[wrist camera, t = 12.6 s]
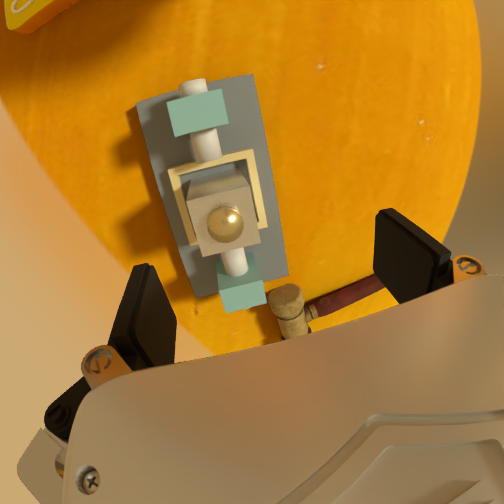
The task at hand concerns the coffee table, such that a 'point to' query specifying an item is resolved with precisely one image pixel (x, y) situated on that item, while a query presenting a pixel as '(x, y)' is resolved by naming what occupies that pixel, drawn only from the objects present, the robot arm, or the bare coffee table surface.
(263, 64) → the coffee table surface
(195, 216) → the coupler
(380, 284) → the gavel
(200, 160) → the shaft stand
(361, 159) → the coffee table surface
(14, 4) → the element tile
